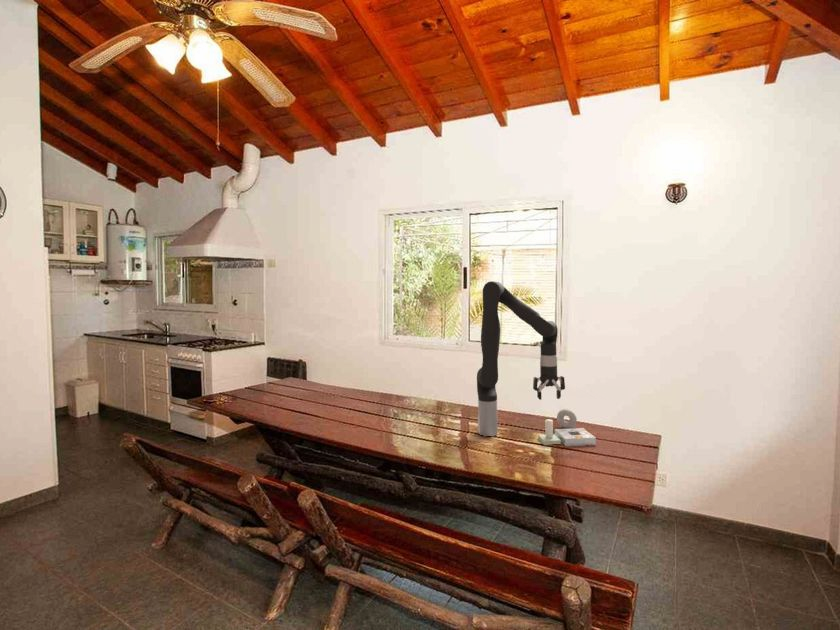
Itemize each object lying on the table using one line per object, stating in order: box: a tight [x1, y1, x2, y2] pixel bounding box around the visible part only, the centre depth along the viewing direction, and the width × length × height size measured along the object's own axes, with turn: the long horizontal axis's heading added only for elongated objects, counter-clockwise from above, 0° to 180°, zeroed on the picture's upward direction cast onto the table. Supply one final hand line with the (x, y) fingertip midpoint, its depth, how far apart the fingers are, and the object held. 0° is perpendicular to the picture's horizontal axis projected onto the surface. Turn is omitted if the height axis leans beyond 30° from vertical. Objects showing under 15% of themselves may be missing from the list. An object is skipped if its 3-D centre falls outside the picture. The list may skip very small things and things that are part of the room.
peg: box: [544, 418, 554, 439], centre depth 211 cm, size 3×3×8 cm
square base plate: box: [537, 433, 562, 446], centre depth 211 cm, size 8×9×2 cm
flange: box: [554, 427, 597, 447], centre depth 212 cm, size 14×14×4 cm
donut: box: [556, 408, 578, 429], centre depth 230 cm, size 10×4×10 cm, turn 51°
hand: (549, 399), depth 210 cm, fingers open, 8 cm apart
